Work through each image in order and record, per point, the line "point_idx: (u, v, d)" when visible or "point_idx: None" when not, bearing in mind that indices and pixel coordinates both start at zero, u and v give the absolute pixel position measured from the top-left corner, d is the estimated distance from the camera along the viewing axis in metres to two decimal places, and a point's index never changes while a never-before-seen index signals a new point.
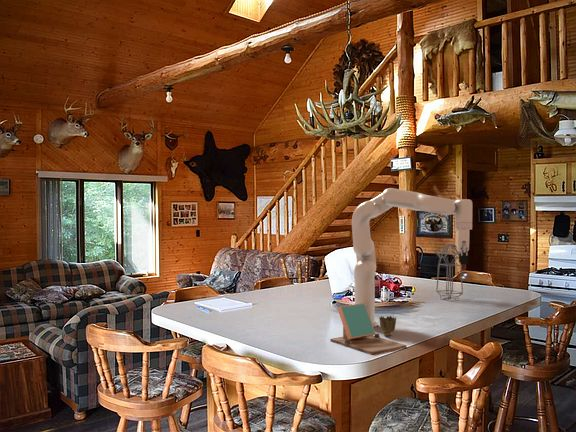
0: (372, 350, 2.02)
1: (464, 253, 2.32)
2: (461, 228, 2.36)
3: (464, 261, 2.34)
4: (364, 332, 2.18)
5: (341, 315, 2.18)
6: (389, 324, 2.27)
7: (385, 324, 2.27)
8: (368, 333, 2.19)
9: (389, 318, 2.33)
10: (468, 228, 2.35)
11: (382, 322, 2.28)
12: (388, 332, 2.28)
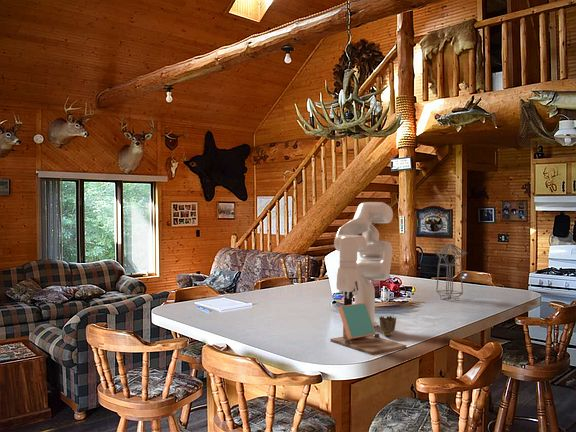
0: (372, 350, 2.02)
1: (352, 296, 2.22)
2: (351, 267, 2.21)
3: (350, 304, 2.23)
4: (364, 332, 2.18)
5: (342, 315, 2.17)
6: (389, 324, 2.27)
7: (385, 324, 2.27)
8: (368, 333, 2.19)
9: (389, 318, 2.33)
10: (356, 267, 2.23)
11: (382, 322, 2.28)
12: (388, 332, 2.28)
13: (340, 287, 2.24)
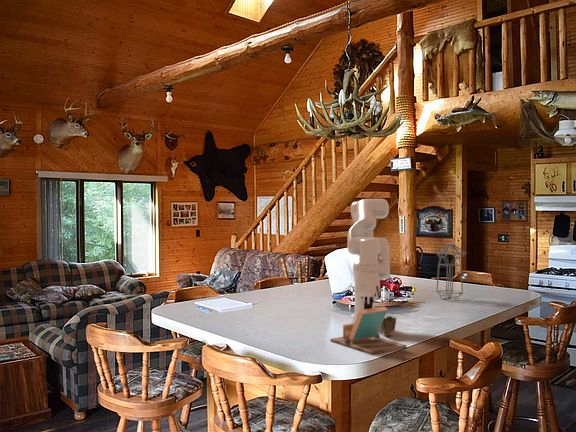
0: (372, 350, 2.02)
1: (372, 301, 2.12)
2: (372, 272, 2.11)
3: None
4: (367, 335, 2.17)
5: (358, 319, 2.09)
6: (389, 324, 2.27)
7: (385, 325, 2.27)
8: (370, 336, 2.18)
9: (389, 318, 2.33)
10: (377, 271, 2.13)
11: (382, 322, 2.28)
12: (388, 332, 2.28)
13: (360, 292, 2.14)
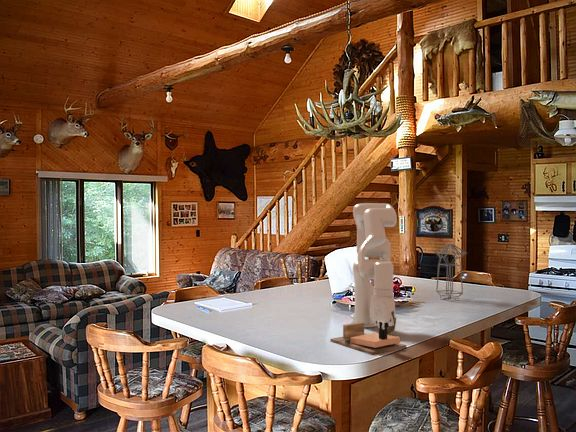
0: (372, 350, 2.02)
1: (387, 327, 2.06)
2: (387, 296, 2.04)
3: (385, 335, 2.07)
4: None
5: (368, 343, 2.05)
6: None
7: None
8: None
9: None
10: (392, 295, 2.06)
11: None
12: (388, 332, 2.28)
13: (374, 317, 2.08)
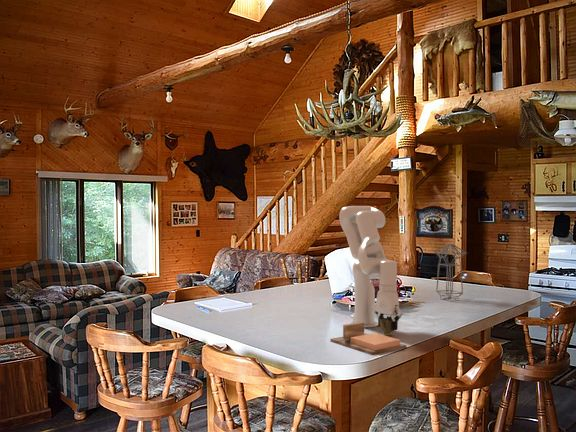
0: (372, 350, 2.02)
1: (398, 319, 2.25)
2: (392, 291, 2.26)
3: (396, 327, 2.26)
4: None
5: (368, 345, 2.05)
6: (389, 324, 2.27)
7: (385, 325, 2.27)
8: None
9: (389, 318, 2.33)
10: (396, 290, 2.29)
11: (382, 322, 2.28)
12: (388, 332, 2.28)
13: (380, 310, 2.30)
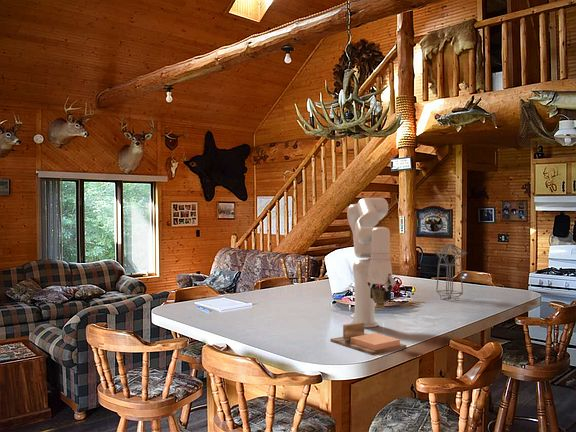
0: (372, 350, 2.02)
1: (391, 288, 2.13)
2: (385, 260, 2.14)
3: (389, 297, 2.14)
4: None
5: (368, 345, 2.05)
6: (382, 294, 2.14)
7: (378, 295, 2.15)
8: None
9: (382, 289, 2.21)
10: (389, 259, 2.17)
11: (375, 292, 2.16)
12: (381, 303, 2.16)
13: (372, 280, 2.18)
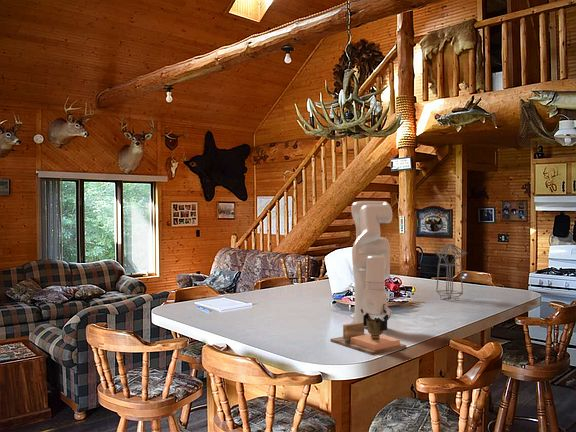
0: (372, 350, 2.02)
1: (387, 318, 2.06)
2: (379, 289, 2.08)
3: (385, 327, 2.07)
4: None
5: (368, 345, 2.05)
6: (376, 326, 2.08)
7: (373, 327, 2.08)
8: None
9: (377, 319, 2.15)
10: (384, 288, 2.10)
11: (369, 324, 2.09)
12: (376, 335, 2.09)
13: (366, 310, 2.11)
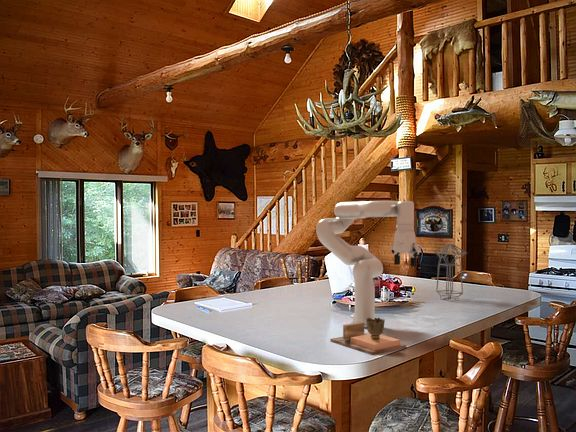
0: (372, 350, 2.02)
1: (416, 255, 2.32)
2: (409, 230, 2.34)
3: (415, 263, 2.33)
4: None
5: (368, 345, 2.05)
6: (376, 326, 2.08)
7: (373, 327, 2.08)
8: None
9: (377, 320, 2.15)
10: (413, 230, 2.36)
11: (369, 324, 2.09)
12: (376, 335, 2.09)
13: (397, 249, 2.38)
